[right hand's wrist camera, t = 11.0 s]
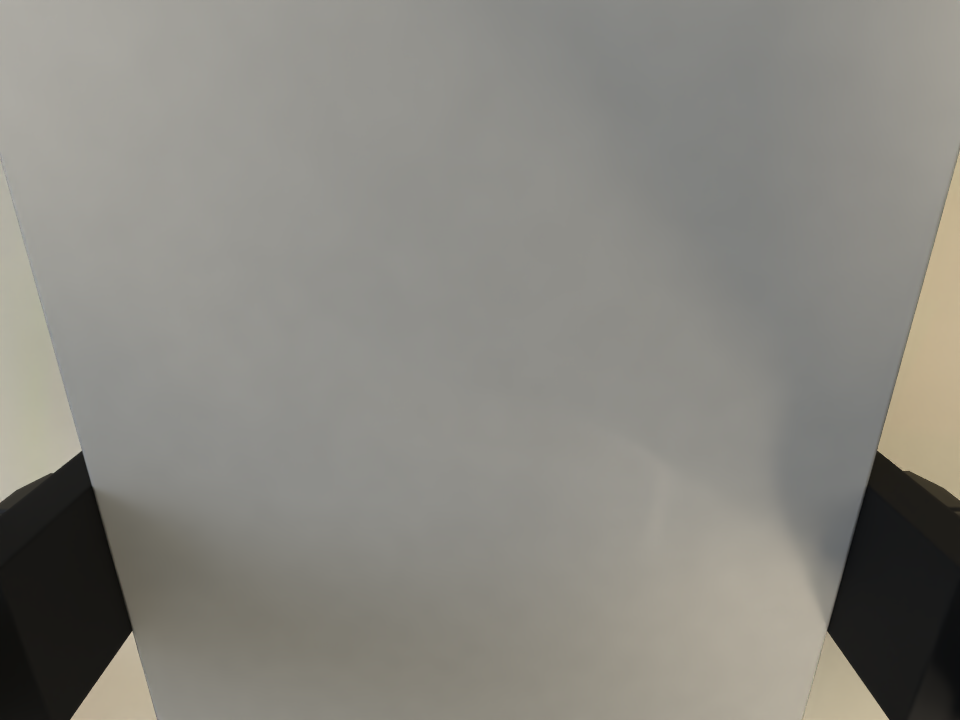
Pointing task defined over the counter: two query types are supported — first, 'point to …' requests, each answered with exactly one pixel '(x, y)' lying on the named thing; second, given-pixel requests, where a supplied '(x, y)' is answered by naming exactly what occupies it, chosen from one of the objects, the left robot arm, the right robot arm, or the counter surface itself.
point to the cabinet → (479, 334)
